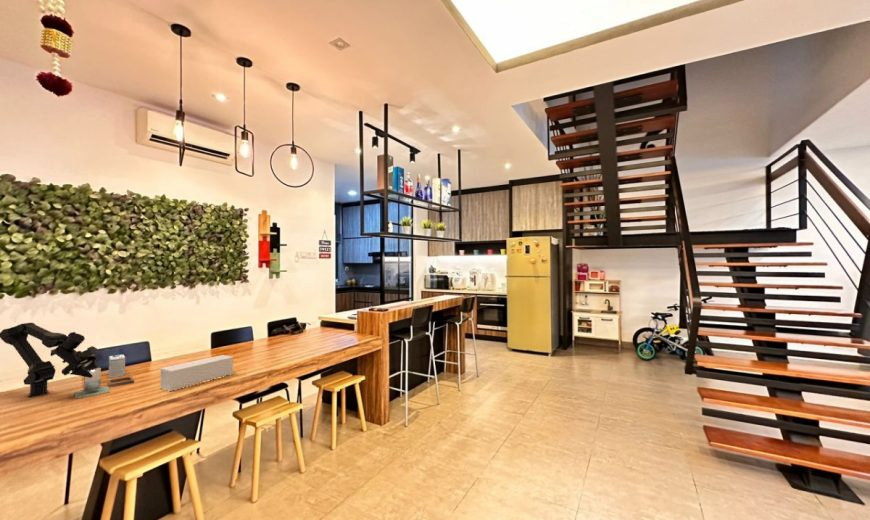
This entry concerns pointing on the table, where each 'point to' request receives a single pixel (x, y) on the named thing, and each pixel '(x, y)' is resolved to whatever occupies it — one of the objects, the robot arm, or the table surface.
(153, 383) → the table surface
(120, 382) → the walnut collar
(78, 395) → the mat
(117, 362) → the grey boxy fixture
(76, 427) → the table surface
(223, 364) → the long grey concrete block
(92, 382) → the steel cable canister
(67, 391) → the table surface
